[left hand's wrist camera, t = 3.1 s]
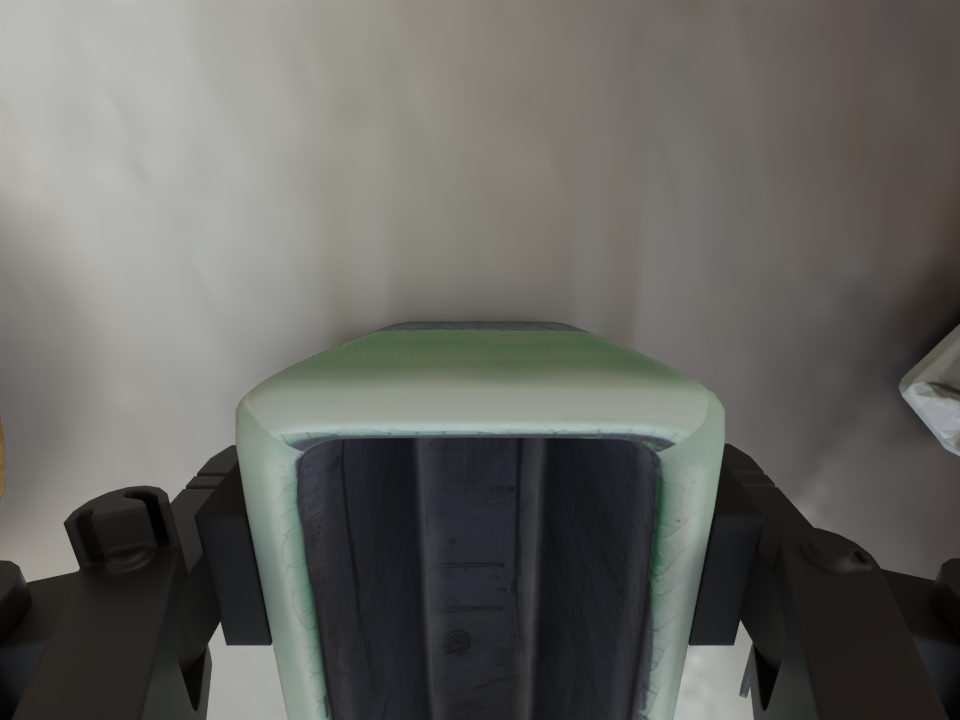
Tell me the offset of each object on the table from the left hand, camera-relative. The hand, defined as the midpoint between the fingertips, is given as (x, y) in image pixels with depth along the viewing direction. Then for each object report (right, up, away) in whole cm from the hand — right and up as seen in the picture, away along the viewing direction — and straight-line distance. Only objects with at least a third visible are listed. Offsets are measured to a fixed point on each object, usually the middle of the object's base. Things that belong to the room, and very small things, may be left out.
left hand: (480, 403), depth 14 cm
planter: (0, -9, +4) cm, 10 cm away
